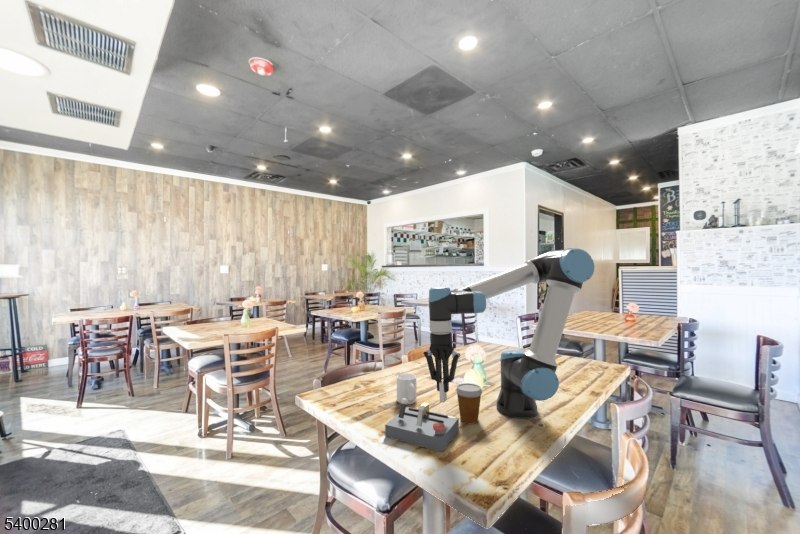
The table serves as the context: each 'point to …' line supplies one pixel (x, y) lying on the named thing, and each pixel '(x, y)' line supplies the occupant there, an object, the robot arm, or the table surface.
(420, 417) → the steel lever
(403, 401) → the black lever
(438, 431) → the red button
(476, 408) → the disposable coffee cup
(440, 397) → the robot arm
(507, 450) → the table surface
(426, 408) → the brass slider
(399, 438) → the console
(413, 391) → the mug
